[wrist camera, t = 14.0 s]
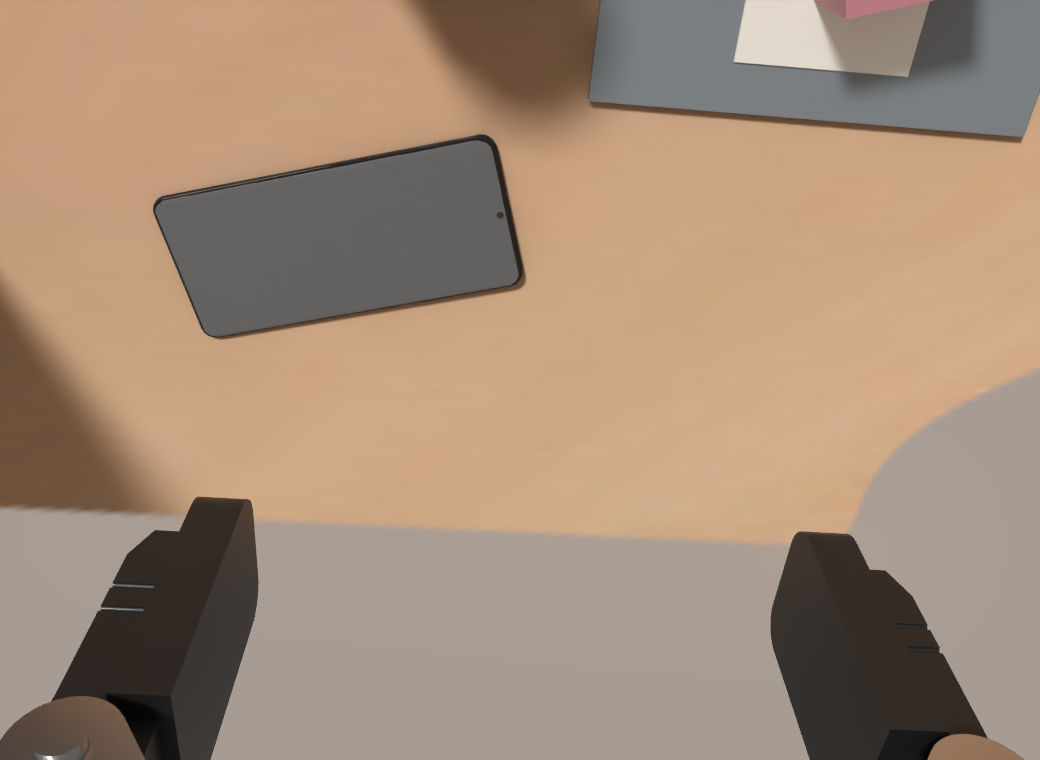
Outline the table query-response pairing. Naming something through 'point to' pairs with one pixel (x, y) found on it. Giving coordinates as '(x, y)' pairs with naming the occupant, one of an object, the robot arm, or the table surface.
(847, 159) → the table surface
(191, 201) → the smartphone
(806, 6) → the mat
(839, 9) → the card box
